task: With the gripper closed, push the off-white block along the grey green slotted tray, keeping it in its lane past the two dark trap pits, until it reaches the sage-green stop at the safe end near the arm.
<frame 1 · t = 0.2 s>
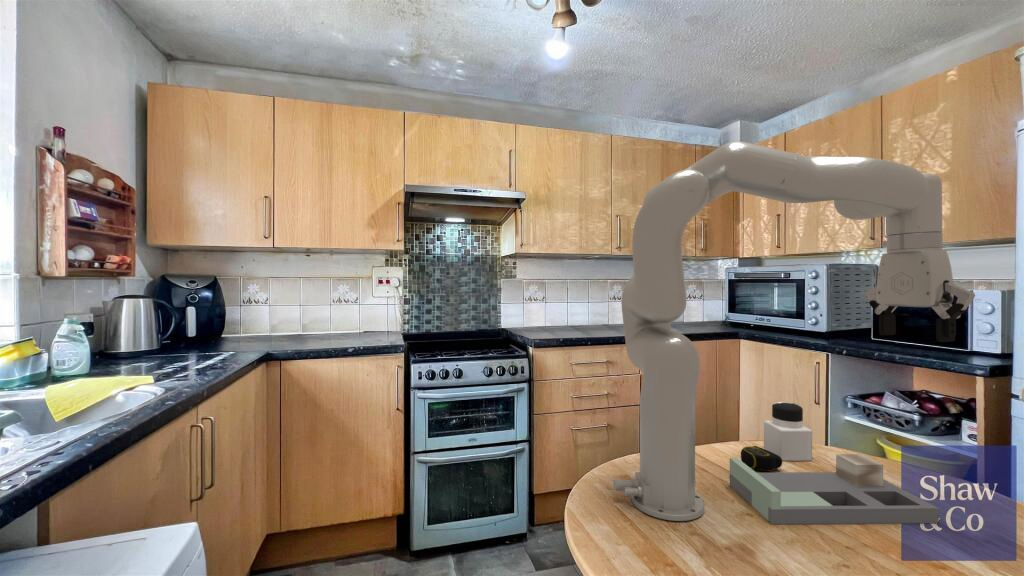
hand: (914, 338, 80), 30 cm above the table, fingers open, 9 cm apart
grey green slotted tray: (825, 502, 80), on the table
medicine bottle: (787, 456, 102), on the table
block: (858, 480, 84), point 2 cm above the table, touching grey green slotted tray
tape measure: (759, 467, 96), on the table
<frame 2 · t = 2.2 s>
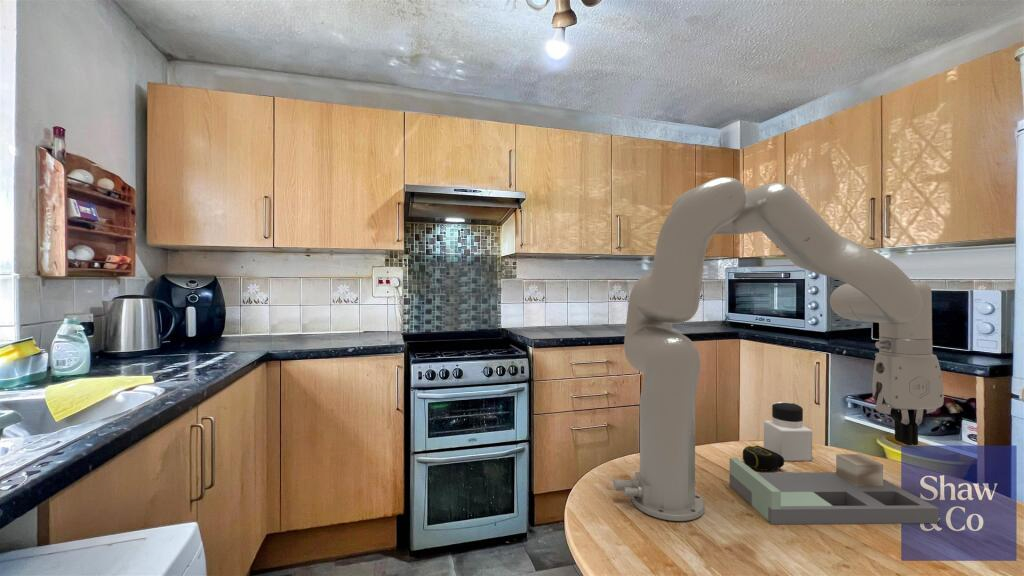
hand: (906, 442, 84), 10 cm above the table, fingers closed
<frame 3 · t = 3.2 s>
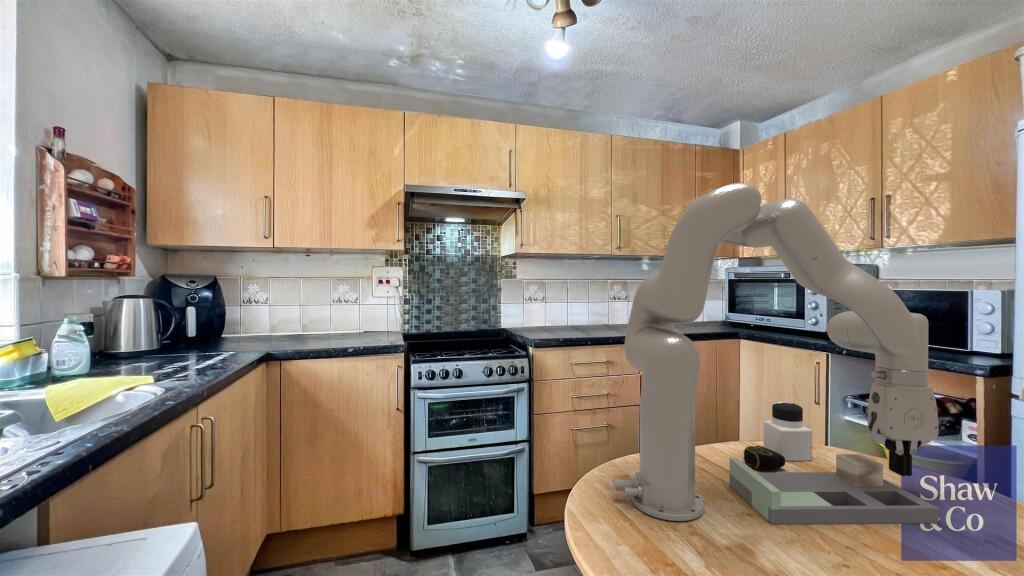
hand: (900, 472, 84), 4 cm above the table, fingers closed
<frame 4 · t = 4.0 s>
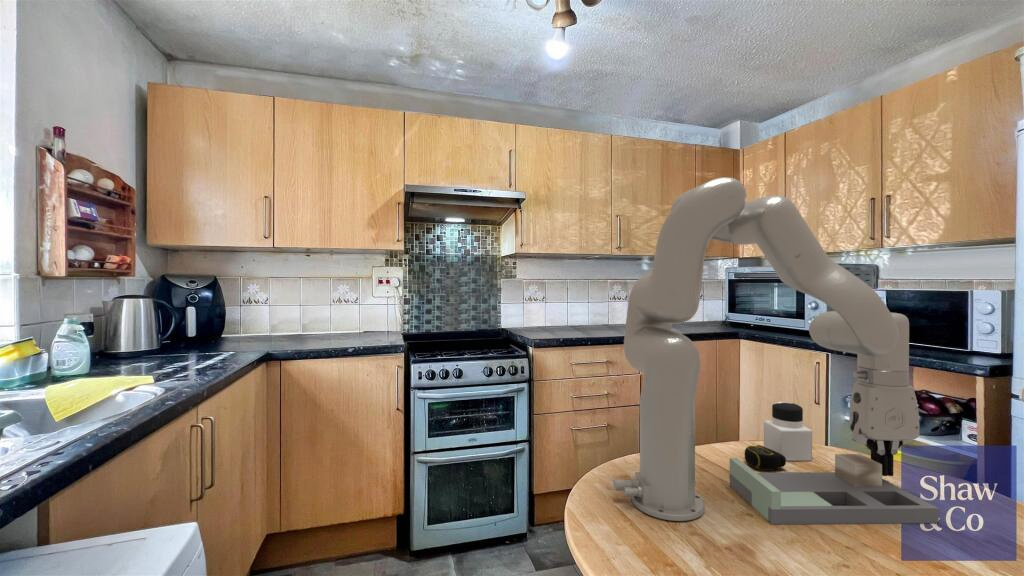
hand: (881, 472, 84), 4 cm above the table, fingers closed
block: (857, 480, 84), point 3 cm above the table, touching gripper
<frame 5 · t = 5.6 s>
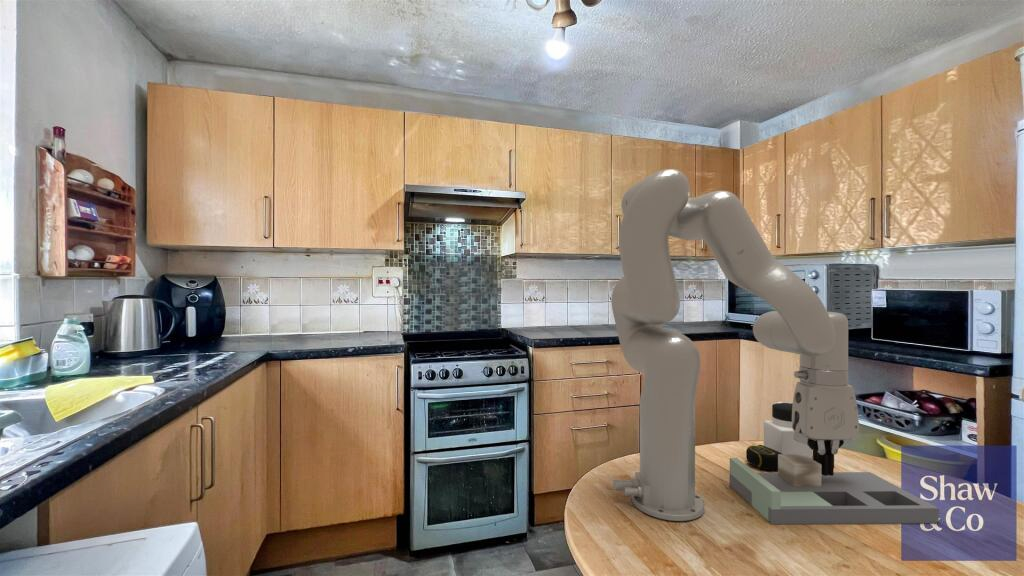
hand: (823, 472, 84), 4 cm above the table, fingers closed
block: (799, 480, 84), point 3 cm above the table, touching gripper
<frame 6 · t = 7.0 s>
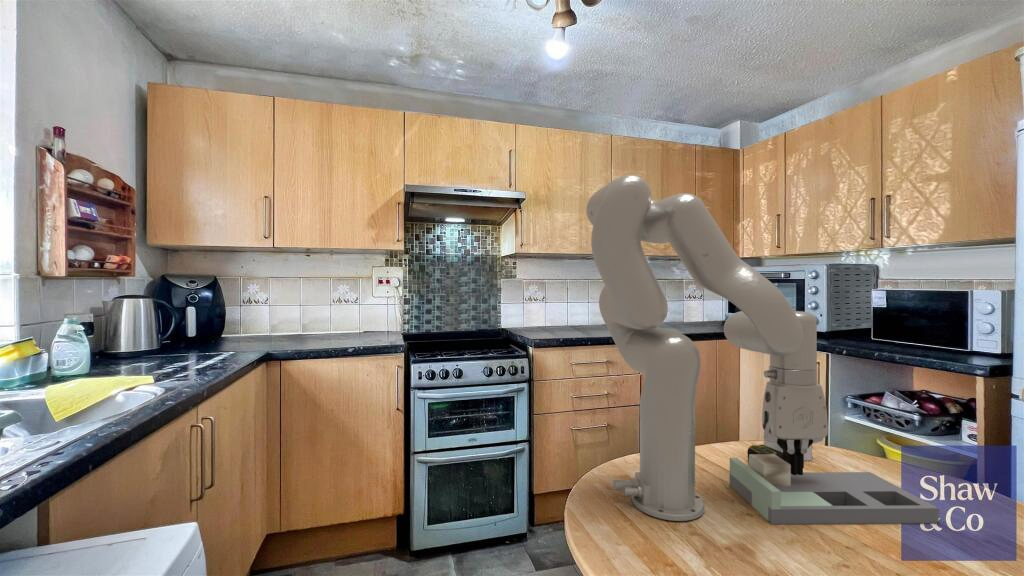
hand: (793, 471, 84), 4 cm above the table, fingers closed
block: (769, 480, 84), point 3 cm above the table, touching gripper, grey green slotted tray
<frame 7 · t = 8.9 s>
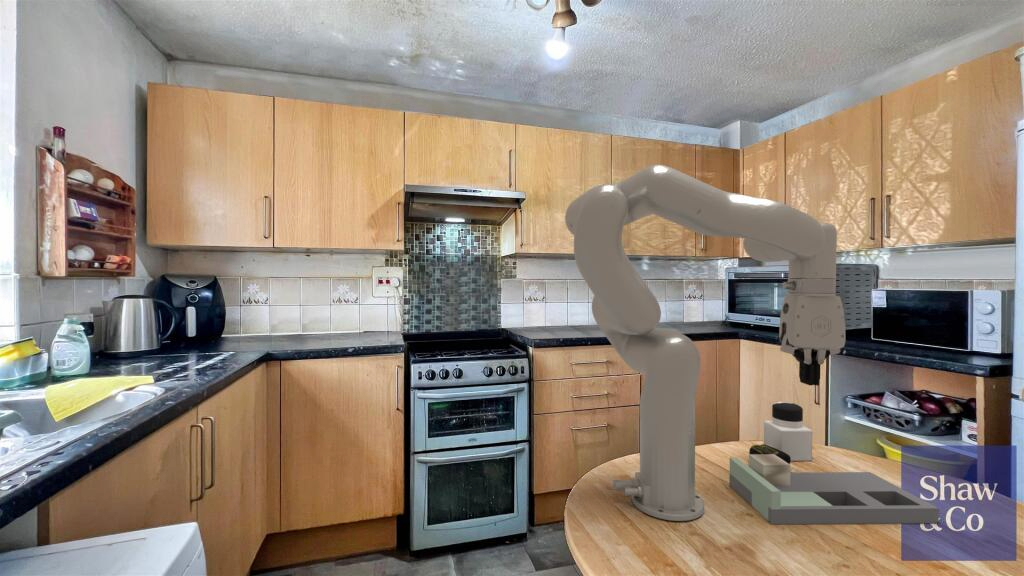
hand: (809, 383, 84), 21 cm above the table, fingers closed
block: (768, 480, 84), point 2 cm above the table, touching grey green slotted tray
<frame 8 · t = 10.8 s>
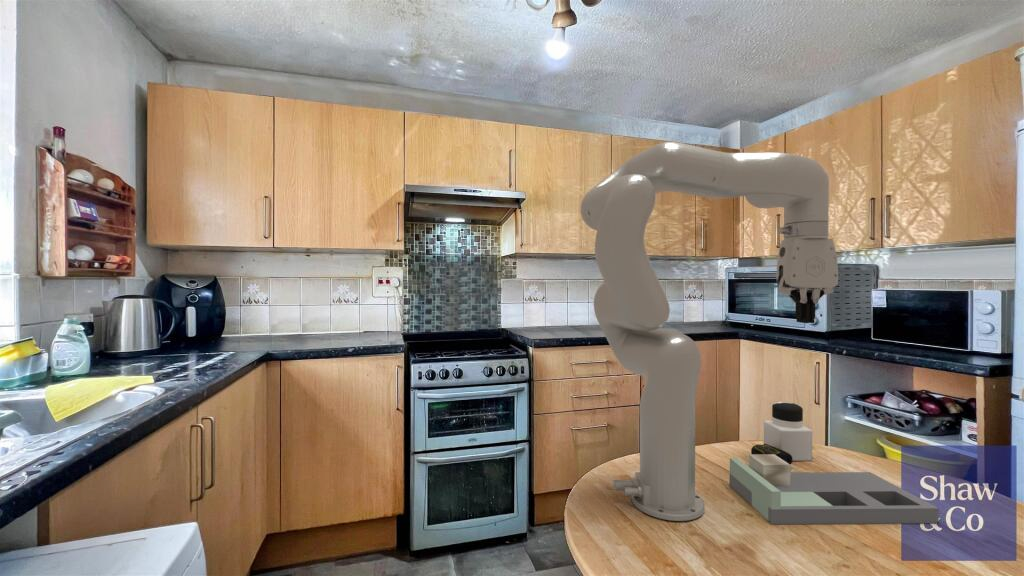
hand: (805, 322, 90), 32 cm above the table, fingers closed
at the end: block inside the target area on the grey green slotted tray (0.4 cm from its centre), point 2.5 cm above the grey green slotted tray's base; block tilted 0°; block moved 17.1 cm from its start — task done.
